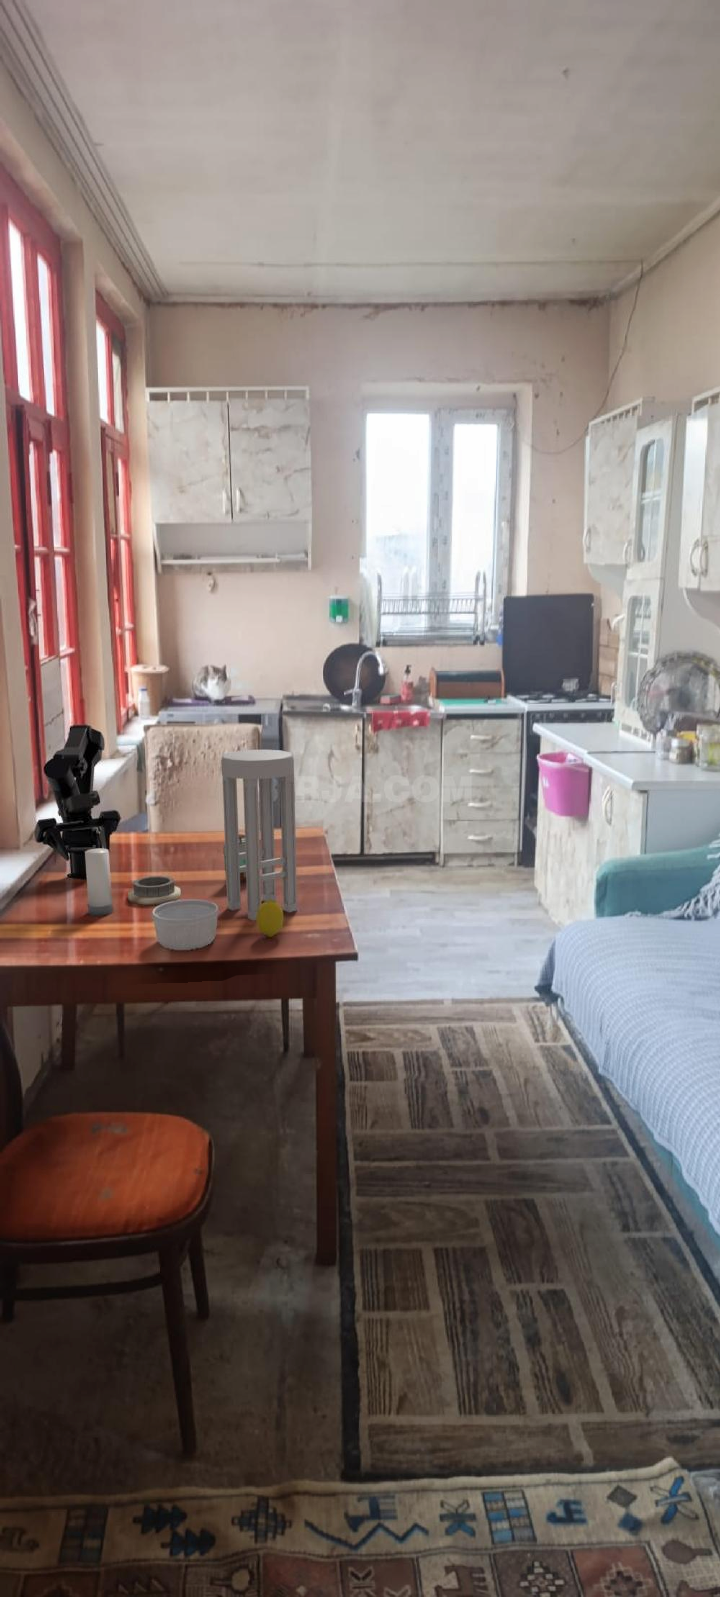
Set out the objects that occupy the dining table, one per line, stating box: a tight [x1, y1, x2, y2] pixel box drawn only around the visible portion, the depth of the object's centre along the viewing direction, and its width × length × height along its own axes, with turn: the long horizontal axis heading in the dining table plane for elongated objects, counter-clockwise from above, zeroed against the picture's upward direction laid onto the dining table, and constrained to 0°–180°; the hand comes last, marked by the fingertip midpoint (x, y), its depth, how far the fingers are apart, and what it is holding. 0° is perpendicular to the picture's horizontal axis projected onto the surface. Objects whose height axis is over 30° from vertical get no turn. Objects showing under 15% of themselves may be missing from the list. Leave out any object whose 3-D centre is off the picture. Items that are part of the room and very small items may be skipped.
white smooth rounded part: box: [85, 848, 114, 917], centre depth 219 cm, size 5×5×14 cm
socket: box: [127, 875, 182, 906], centre depth 231 cm, size 12×12×4 cm
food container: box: [222, 833, 246, 885], centre depth 244 cm, size 12×6×10 cm, turn 168°
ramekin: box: [151, 899, 219, 951], centre depth 201 cm, size 13×13×7 cm
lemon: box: [255, 900, 285, 938], centre depth 202 cm, size 6×6×8 cm
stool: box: [220, 749, 298, 921], centre depth 218 cm, size 16×16×35 cm
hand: (88, 856), depth 222 cm, fingers open, 9 cm apart
